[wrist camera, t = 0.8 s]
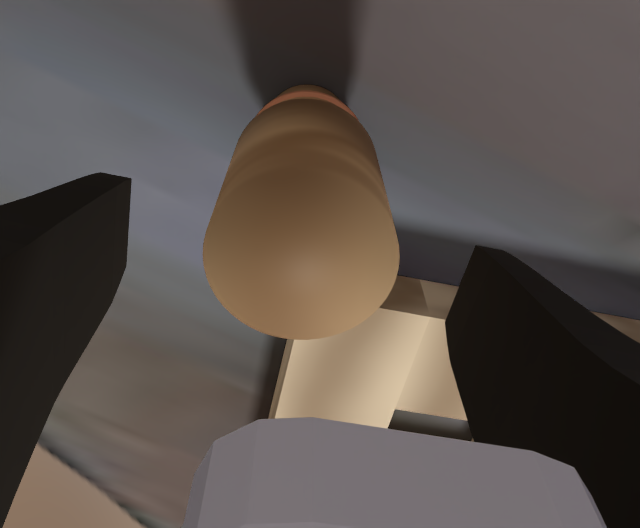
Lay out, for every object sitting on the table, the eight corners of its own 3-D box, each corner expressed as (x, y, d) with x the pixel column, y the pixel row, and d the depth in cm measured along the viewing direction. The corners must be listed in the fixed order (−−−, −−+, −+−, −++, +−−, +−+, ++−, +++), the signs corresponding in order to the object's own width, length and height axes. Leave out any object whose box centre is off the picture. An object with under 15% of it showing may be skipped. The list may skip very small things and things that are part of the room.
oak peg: (380, 80, 19) (424, 192, 11) (350, 192, 21) (371, 353, 13) (258, 52, 18) (215, 149, 11) (239, 169, 20) (192, 323, 13)
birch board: (643, 321, 24) (675, 360, 22) (513, 532, 31) (528, 578, 29) (306, 258, 22) (305, 294, 20) (249, 495, 29) (244, 541, 27)
